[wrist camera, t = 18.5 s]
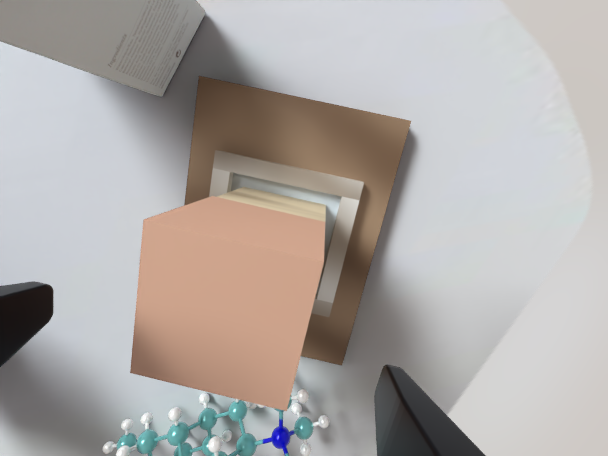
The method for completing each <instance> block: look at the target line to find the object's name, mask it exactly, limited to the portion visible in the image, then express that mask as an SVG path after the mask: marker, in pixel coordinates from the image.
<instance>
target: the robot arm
mask: <svg viewBox="0 0 608 456" xmlns="http://www.w3.org/2000/svg"><path fill="white" fill-rule="evenodd" d="M52 315H53V288H52V287H51V286H50V285H48V284H44V283H40V282H27V283H19V284H12V285H5V286H0V367H1V366H2V365H3V364H4V363H6V362H7V361H8V360H9V359H10V358H11V357H12V356H13V355H14V354H15V353H16V352H17V351H18V350H19V349H20V348H21V347H23V346H24V345H25V344H26V343H27V342H28V341H29V340H30V339H31V338H32V337H33V336H34V335H35V334H36V333H37V332H38V331H40V330H41V329H42V328H43V327H44V326H45V325H46V324H47V323H48V322H49V321H50V319H51V317H52ZM374 400H375V421H376V441H377V456H485V455H484V454H483V453H482V452H481V451H480V450H479V448H478V447H477V446H476V445H474V443H473V442H472V441H471V440H470V439H469V438H468V437H467V436H466V435H465V434H464V433H463V432H462V431H461V430H460V429H459V428H458V427H457V426H456V424H455V423H454V422H453V421H452V420H451V419H450V418H449V417H448V416H447V415H446V414H445V413H444V412H443V411H442V410H441V409H440V408H439V407H438V406H437V405H436V404H435V403H434V402H433V401H432V400H431V399H430V397H429V396H428V395H427V394H426V393H425V392H424V391H423V390H422V389H421V388H420V387H419V386H418V385H417V384H416V383H415V382H414V381H413V380H412V379H411V378H410V377H409V376H408V375H407V374H406V373H405V371H404V370H403V369H401V368H400V367H396V366H391V365H385V366H384V367H383V369H382V372H381V375H380V378H379V381H378V384H377V387H376V391H375V399H374Z"/></svg>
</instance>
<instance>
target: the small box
mask: <svg viewBox="0 0 608 456" xmlns="http://www.w3.org/2000/svg"><path fill="white" fill-rule="evenodd" d="M204 15H205V10H204V9H203V8H202V7H201V6H200V4H199V3H198V2H197V1H196V0H0V41H1V42H4V43H7V44H10V45H12V46H15V47H18V48H21V49H24V50H27V51H30V52H33V53H36V54H39V55H42V56H45V57H47V58H50V59H52V60H55V61H58V62H61V63H63V64H66V65H69V66H72V67H75V68H77V69H81V70H83V71H86V72H89V73H92V74H95V75H97V76H100V77H103V78H106V79H109V80H112V81H115V82H118V83H121V84H124V85H127V86H129V87H132V88H135V89H138V90H141V91H144V92H147V93H150V94H153V95H156V96H159V97H162V96H163V94H164V92H165V90H166V88H167V86H168V84H169V82H170V81H171V79H172V77H173V75H174V73H175V71H176V69H177V67H178V65H179V63H180V61H181V59H182V57H183V55H184V54H185V52H186V50H187V48H188V46H189V44H190V42H191V40H192V38H193V36H194V34H195V32H196V30H197V29H198V27H199V25H200V23H201V21H202V19H203V17H204Z"/></svg>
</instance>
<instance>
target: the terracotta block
mask: <svg viewBox="0 0 608 456" xmlns="http://www.w3.org/2000/svg"><path fill="white" fill-rule="evenodd" d="M324 245H325V222H323V221H319V220H315V219H310V218H306V217H302V216H297V215H293V214H289V213H284V212H280V211H276V210H271V209H267V208H263V207H258V206H254V205H250V204H245V203H241V202H237V201H232V200H228V199H224V198H219V197H215V196H211V197H208V198H205V199H202V200H199V201H196V202H193V203H191V204H188V205H185V206H182V207H179V208H176V209H173V210H170V211H167V212H164V213H162V214H159V215H156V216H153V217H150V218H147V219H144V221H143V232H142V244H141V256H140V267H139V279H138V290H137V302H136V313H135V325H134V336H133V348H132V359H131V371H130V373H133V374H137V375H141V376H145V377H150V378H154V379H158V380H162V381H166V382H170V383H174V384H178V385H182V386H186V387H190V388H194V389H198V390H202V391H206V392H211V393H215V394H219V395H223V396H227V397H231V398H235V399H239V400H243V401H247V402H251V403H255V404H259V405H263V406H268V407H272V408H276V409H280V410H284V411H287V408H288V404H289V400H290V396H291V392H292V388H293V384H294V380H295V376H296V372H297V368H298V364H299V360H300V356H301V352H302V348H303V344H304V340H305V336H306V332H307V328H308V324H309V320H310V316H311V312H312V308H313V304H314V300H315V296H316V292H317V288H318V284H319V280H320V276H321V272H322V268H323V264H324Z"/></svg>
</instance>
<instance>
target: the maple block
mask: <svg viewBox="0 0 608 456" xmlns="http://www.w3.org/2000/svg"><path fill="white" fill-rule="evenodd" d="M217 197H219V198H224V199H228V200H232V201H237V202H241V203H245V204H250V205H254V206H258V207H263V208H267V209H271V210H276V211H280V212H284V213H289V214H293V215H297V216H302V217H306V218H310V219H315V220H319V221H323V222H325V220H326V205H324V204H320V203H315V202H311V201H306V200H302V199H297V198H293V197H288V196H284V195H279V194H274V193H270V192H265V191H261V190H256V189H252V188H247V187H242V188H239V189H236V190H234V191H231V192H228V193H225V194H223V195H220V196H217Z"/></svg>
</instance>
